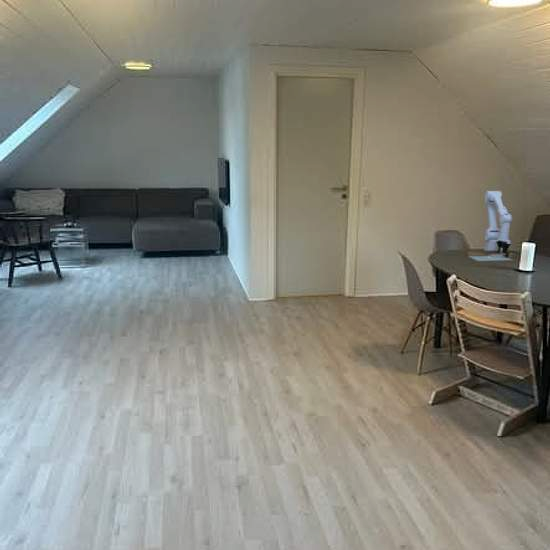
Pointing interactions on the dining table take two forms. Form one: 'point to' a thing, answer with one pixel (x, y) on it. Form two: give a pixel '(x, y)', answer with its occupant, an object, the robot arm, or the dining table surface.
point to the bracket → (498, 254)
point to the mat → (488, 258)
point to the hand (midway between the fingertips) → (502, 252)
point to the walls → (486, 252)
